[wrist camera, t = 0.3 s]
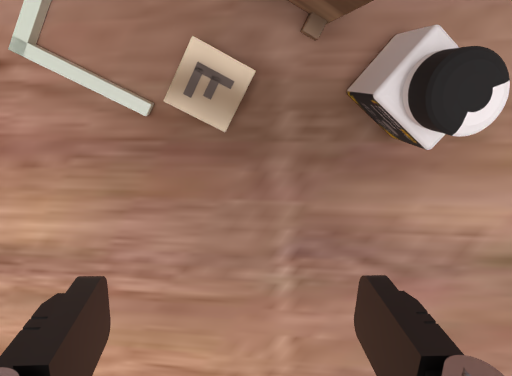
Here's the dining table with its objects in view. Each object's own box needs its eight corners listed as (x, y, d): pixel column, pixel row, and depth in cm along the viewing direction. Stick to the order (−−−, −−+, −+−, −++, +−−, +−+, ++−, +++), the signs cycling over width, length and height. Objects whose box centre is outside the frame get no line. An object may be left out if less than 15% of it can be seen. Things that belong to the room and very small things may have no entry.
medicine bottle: (344, 92, 35) (402, 99, 24) (396, 32, 34) (483, 10, 23) (392, 138, 37) (467, 166, 26) (443, 83, 36) (546, 87, 25)
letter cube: (197, 42, 33) (192, 35, 28) (250, 71, 34) (256, 70, 29) (172, 97, 34) (162, 101, 29) (224, 124, 35) (225, 132, 30)
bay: (75, -122, 29) (67, -133, 27) (215, -37, 31) (215, -42, 30) (17, 50, 32) (8, 49, 30) (149, 114, 34) (146, 116, 33)
